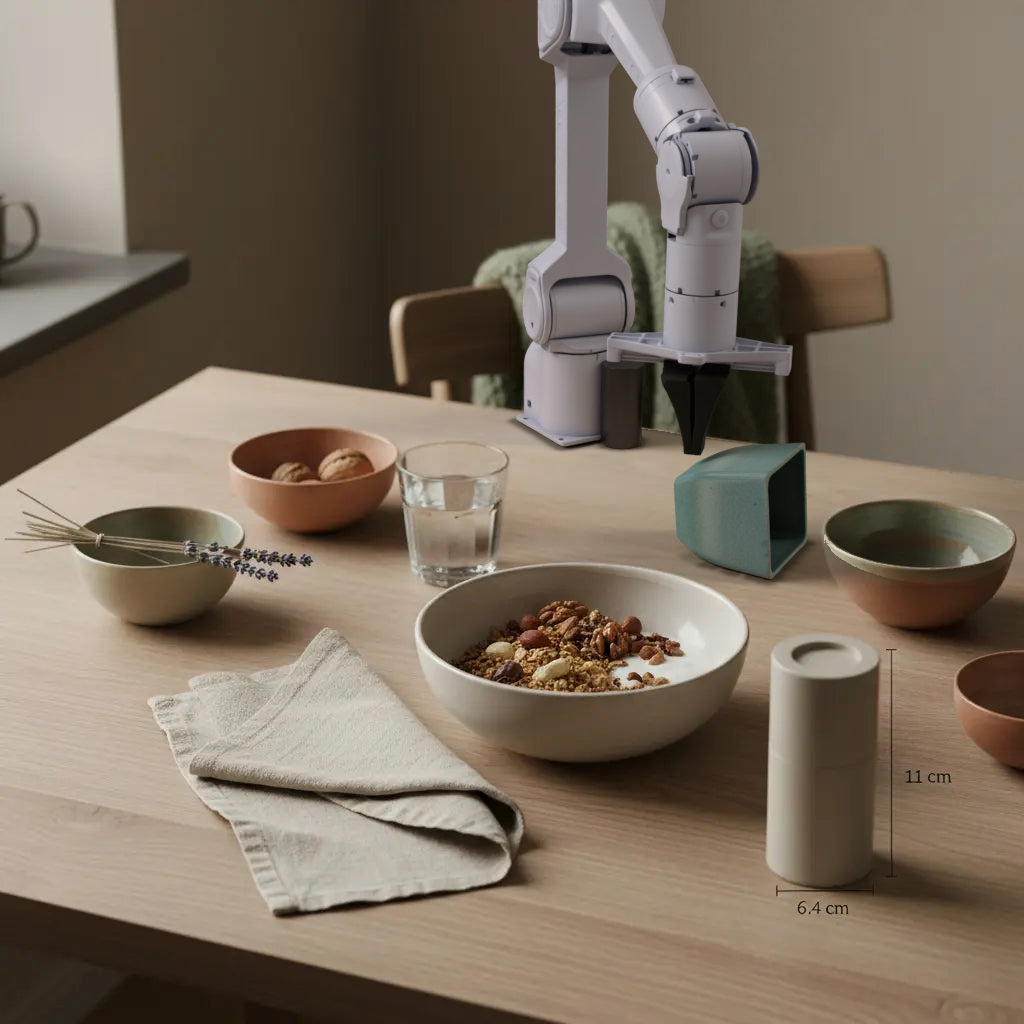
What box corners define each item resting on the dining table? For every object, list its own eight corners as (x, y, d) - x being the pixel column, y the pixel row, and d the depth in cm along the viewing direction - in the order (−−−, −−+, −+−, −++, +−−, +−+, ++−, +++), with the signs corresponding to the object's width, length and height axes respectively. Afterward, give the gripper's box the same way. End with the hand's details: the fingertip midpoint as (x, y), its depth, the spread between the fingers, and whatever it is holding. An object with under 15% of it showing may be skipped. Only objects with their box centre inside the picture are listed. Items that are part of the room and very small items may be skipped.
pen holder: (592, 439, 148) (593, 360, 145) (626, 432, 150) (628, 354, 147) (614, 451, 145) (616, 371, 142) (649, 444, 147) (652, 365, 143)
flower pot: (704, 431, 126) (807, 440, 122) (708, 529, 129) (809, 542, 125) (660, 464, 119) (767, 475, 115) (665, 567, 122) (769, 581, 118)
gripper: (599, 294, 116) (596, 459, 121) (789, 307, 113) (777, 476, 118) (619, 272, 122) (615, 430, 128) (799, 284, 119) (787, 446, 124)
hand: (694, 450), depth 123 cm, fingers closed
